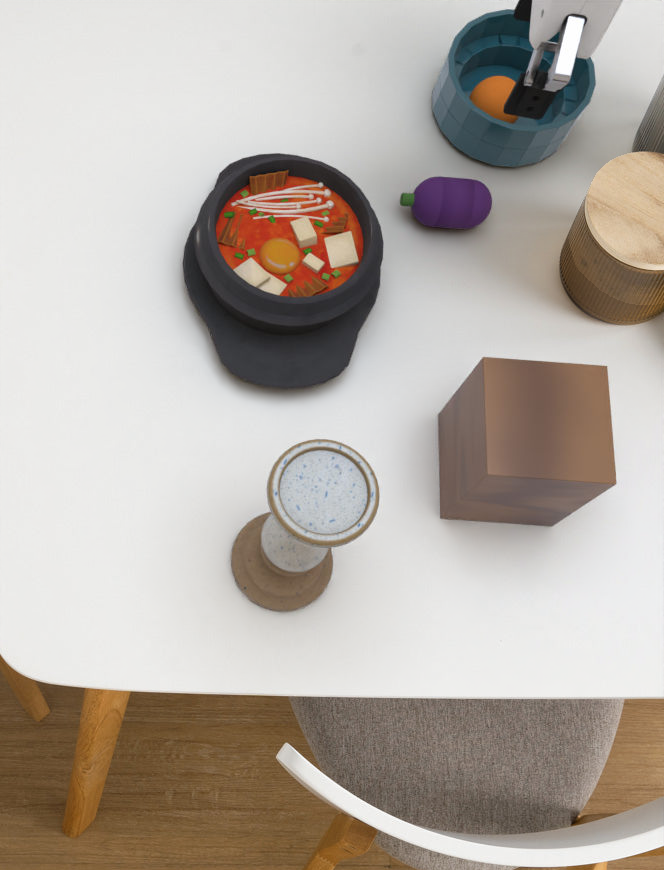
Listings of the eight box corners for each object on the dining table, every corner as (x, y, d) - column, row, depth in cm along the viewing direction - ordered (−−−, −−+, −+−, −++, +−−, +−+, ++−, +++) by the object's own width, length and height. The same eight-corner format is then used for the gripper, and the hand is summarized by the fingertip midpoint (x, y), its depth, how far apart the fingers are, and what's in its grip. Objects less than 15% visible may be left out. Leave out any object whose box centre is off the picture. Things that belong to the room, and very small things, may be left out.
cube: (546, 421, 89) (607, 365, 77) (552, 526, 86) (617, 484, 74) (437, 414, 88) (483, 356, 77) (440, 518, 85) (487, 474, 74)
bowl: (564, 59, 101) (590, 15, 95) (572, 175, 97) (600, 136, 91) (429, 49, 101) (447, 4, 95) (431, 164, 96) (450, 124, 91)
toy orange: (529, 88, 96) (512, 55, 92) (531, 132, 95) (514, 100, 91) (477, 107, 99) (458, 77, 95) (479, 150, 98) (460, 120, 94)
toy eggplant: (481, 199, 95) (498, 170, 91) (483, 240, 94) (500, 212, 90) (395, 193, 95) (407, 163, 91) (395, 233, 94) (408, 205, 90)
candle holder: (234, 614, 82) (264, 556, 63) (226, 516, 85) (254, 431, 66) (336, 609, 83) (397, 550, 63) (325, 511, 85) (381, 426, 66)
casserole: (182, 163, 96) (186, 104, 88) (368, 168, 96) (389, 110, 88) (181, 395, 88) (185, 354, 80) (383, 399, 89) (408, 359, 81)
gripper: (680, -11, 61) (564, 161, 77) (688, -208, 66) (578, -8, 82) (562, -33, 61) (471, 144, 77) (579, -227, 66) (490, -24, 82)
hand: (526, 65), depth 80 cm, fingers open, 9 cm apart
